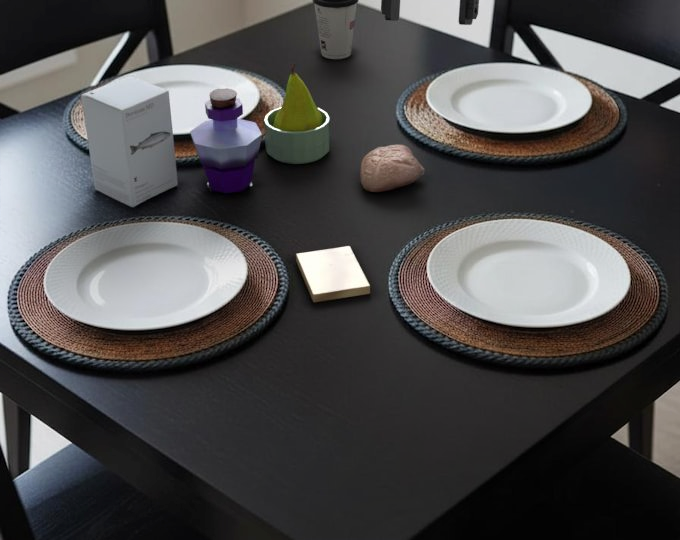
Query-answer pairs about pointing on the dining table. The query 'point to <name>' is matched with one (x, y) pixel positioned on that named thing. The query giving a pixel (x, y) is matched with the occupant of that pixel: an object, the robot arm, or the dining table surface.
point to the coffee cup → (335, 26)
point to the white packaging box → (130, 140)
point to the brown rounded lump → (389, 168)
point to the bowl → (297, 141)
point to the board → (332, 274)
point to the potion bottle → (227, 144)
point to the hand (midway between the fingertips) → (428, 22)
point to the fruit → (297, 108)
